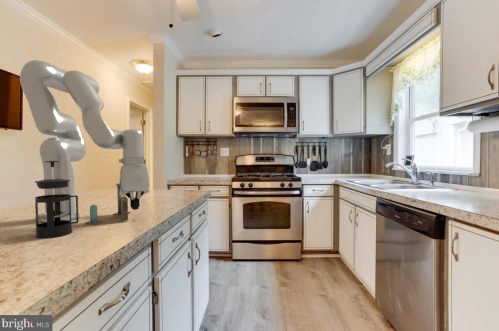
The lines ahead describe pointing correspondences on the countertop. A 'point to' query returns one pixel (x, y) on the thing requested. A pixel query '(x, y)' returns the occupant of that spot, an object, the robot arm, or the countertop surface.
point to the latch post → (93, 215)
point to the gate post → (118, 200)
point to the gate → (124, 207)
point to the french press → (54, 209)
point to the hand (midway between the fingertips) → (135, 208)
